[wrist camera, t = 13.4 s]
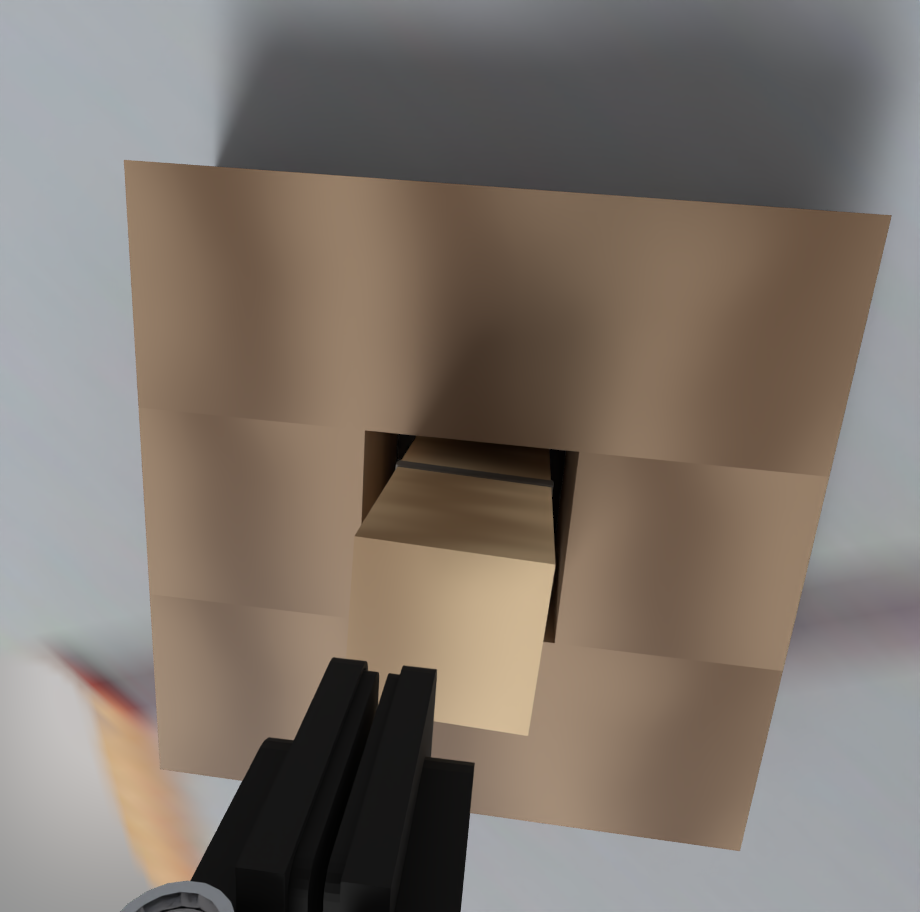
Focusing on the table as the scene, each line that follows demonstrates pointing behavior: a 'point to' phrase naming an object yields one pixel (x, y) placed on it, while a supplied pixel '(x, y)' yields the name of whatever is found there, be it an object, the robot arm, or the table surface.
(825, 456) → the board
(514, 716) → the peg
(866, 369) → the table surface
